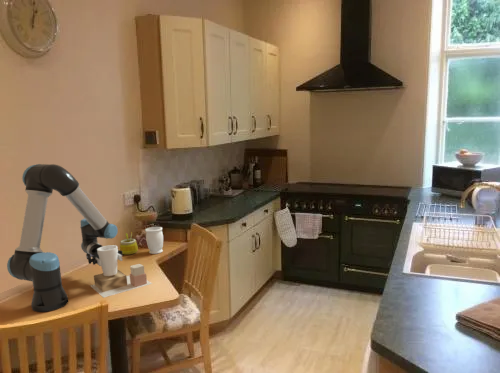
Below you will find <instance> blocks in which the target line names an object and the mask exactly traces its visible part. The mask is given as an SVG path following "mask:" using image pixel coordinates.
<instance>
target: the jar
mask: <svg viewBox="0 0 500 373" xmlns="http://www.w3.org/2000/svg"><path fill="white" fill-rule="evenodd" d="M144 232H146V233H145V240H146V244H147V247H148V250H149V251H148V253H149V254H150V255H152V254H153V255H158V254H160V253H162V252H164V250H163V247H164V234H163V233H164V232H163V226H151V227H147V228H145V231H144Z"/></svg>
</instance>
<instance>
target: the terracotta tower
mask: <svg viewBox="0 0 500 373" xmlns="http://www.w3.org/2000/svg"><path fill="white" fill-rule="evenodd" d="M129 269H130V273H129V275H130V283H131V284H132V285H133V286H135V287H137V286H140V285H144V284H147V280H148V279H147V273H146V272H145V266H144V265H143V264H141V263H137V264H133V265H130V266H129Z"/></svg>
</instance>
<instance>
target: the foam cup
mask: <svg viewBox="0 0 500 373" xmlns="http://www.w3.org/2000/svg"><path fill="white" fill-rule="evenodd" d="M118 248H119V247H118V245H116V244H115V245H114V244H113V245H112V244H111V245H110V244H108V245H102V247H100V248H98V249H97V252H98V255H99V259H100V260H101V264H102V266H100V267H101V269H102V270H101V271H102V273H103V274H104V276H112V275H115V274H117V270H118V261H119V260H118V250H119V249H118Z"/></svg>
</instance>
